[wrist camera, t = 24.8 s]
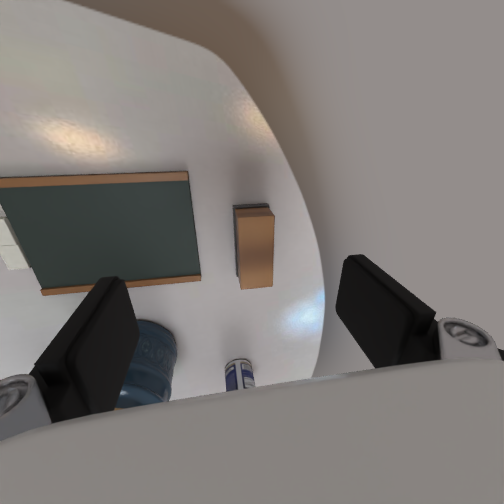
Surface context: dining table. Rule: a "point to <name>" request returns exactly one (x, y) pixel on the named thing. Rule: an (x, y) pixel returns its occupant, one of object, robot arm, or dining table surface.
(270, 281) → the eraser
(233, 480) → the robot arm
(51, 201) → the board
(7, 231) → the white flat block
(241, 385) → the pill bottle
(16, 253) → the chalk mark
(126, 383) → the canister
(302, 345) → the dining table surface
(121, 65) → the dining table surface
